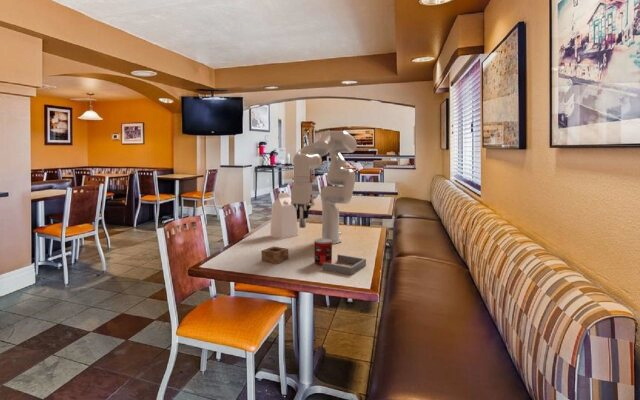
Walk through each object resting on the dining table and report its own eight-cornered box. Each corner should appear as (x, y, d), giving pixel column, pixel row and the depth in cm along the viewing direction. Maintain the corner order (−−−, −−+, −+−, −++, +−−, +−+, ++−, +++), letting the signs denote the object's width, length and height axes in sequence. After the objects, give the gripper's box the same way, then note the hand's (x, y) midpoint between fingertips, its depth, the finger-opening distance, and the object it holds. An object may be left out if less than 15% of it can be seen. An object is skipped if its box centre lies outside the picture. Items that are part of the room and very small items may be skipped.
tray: (338, 260, 173) (338, 254, 173) (365, 265, 166) (366, 259, 166) (322, 269, 161) (322, 262, 160) (351, 275, 154) (351, 268, 153)
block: (273, 256, 180) (273, 246, 179) (288, 259, 176) (288, 248, 175) (261, 261, 172) (261, 250, 172) (277, 264, 168) (276, 253, 167)
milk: (286, 232, 232) (285, 191, 229) (297, 235, 224) (297, 193, 220) (270, 235, 224) (269, 192, 220) (281, 238, 216) (281, 194, 212)
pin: (301, 226, 182) (301, 202, 180) (306, 226, 180) (306, 202, 179) (298, 227, 179) (298, 203, 178) (303, 228, 178) (303, 203, 176)
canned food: (313, 261, 172) (313, 238, 171) (330, 260, 173) (330, 238, 172) (314, 266, 165) (314, 242, 163) (332, 266, 166) (332, 242, 164)
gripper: (283, 180, 177) (284, 217, 180) (312, 181, 169) (312, 221, 172) (292, 178, 184) (293, 215, 186) (321, 180, 176) (320, 218, 178)
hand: (302, 217), depth 179 cm, fingers closed on pin, 3 cm apart
